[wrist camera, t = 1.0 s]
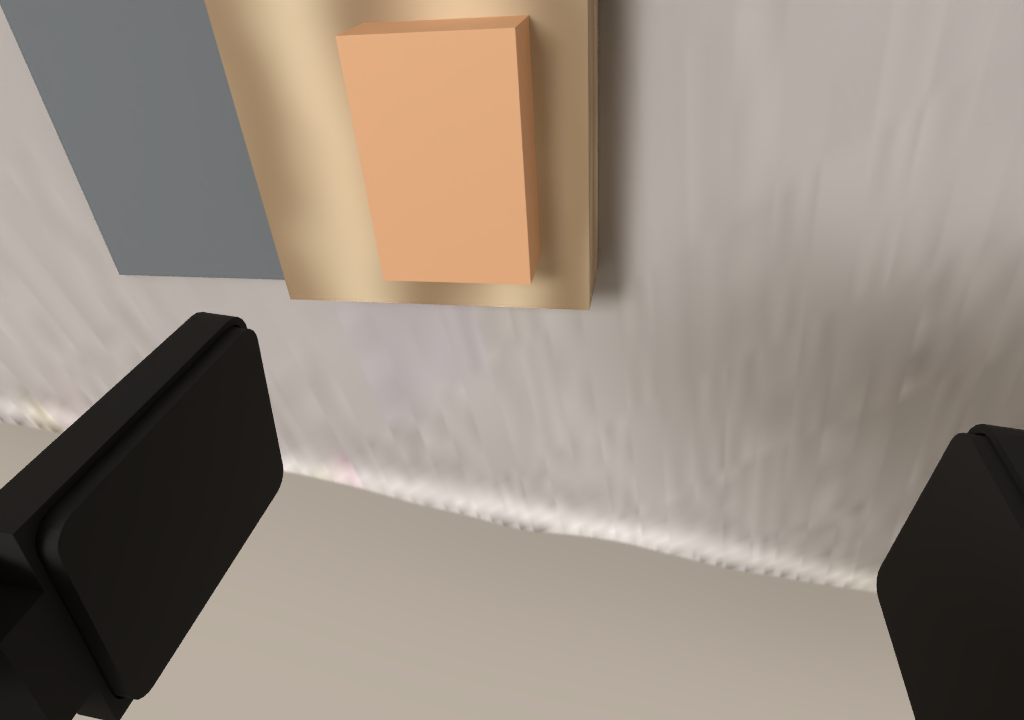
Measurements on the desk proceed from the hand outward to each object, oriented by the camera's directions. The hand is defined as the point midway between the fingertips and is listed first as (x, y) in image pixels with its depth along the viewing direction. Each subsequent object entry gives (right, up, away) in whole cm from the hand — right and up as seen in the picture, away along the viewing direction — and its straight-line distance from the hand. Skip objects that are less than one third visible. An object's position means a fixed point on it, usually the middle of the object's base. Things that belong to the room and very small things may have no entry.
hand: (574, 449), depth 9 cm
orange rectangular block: (-3, +9, +17) cm, 19 cm away
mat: (-17, +12, +23) cm, 31 cm away
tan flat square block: (-4, +12, +20) cm, 24 cm away
